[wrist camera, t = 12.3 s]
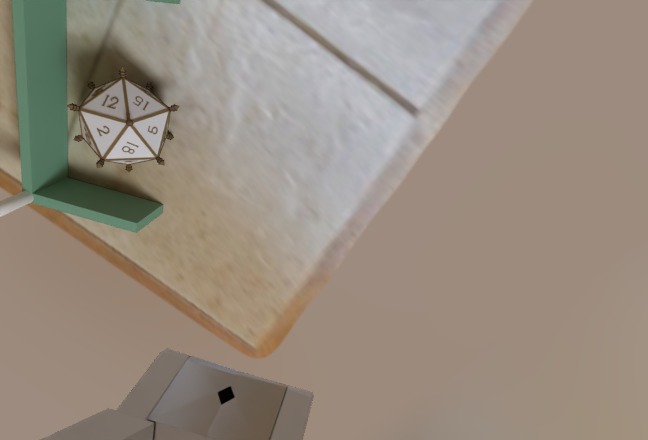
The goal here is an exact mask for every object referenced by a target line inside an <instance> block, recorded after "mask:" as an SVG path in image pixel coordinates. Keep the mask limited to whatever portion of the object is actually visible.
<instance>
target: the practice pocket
mask: <svg viewBox="0 0 648 440" xmlns="http://www.w3.org/2000/svg"><path fill="white" fill-rule="evenodd" d="M147 1H154V2H163V3H173V4H180V0H147ZM12 14H13V32H14V50H15V68H16V85H17V103H18V121H19V139H20V156H21V174H22V192H21V193H18V194H16V195H14V196H11V197H9V198H7V199H4V200H2V201H0V217H1V216H3V215H5V214H7V213H10V212H12V211H14V210H16V209H18V208H20V207H22V206H25V205H27V204H29V203H34V204H38V205H41V206H45V207H48V208H52V209H55V210H59V211H62V212H66V213H69V214H73V215H76V216H80V217H83V218H86V219H90V220H93V221H97V222H100V223H104V224H107V225H111V226H114V227H118V228H121V229H125V230H128V231H132V232H135V233H137V232H138V231H139V230H141V229H142V228H143V227H145V226H146V225H147V224H149V223H150V222H151V221H153V220H154V219H155V218H157V217H158V216H159V215H161V214H162V212H163V204H160V203H156V202H153V201H149V200H146V199H142V198H139V197H135V196H132V195H128V194H124V193H121V192H117V191H114V190H110V189H107V188H103V187H100V186H96V185H93V184H89V183H85V182H82V181H78V180H75V179H71V178H68V126H67V39H66V0H12Z"/></svg>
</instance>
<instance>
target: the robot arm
mask: <svg viewBox="0 0 648 440" xmlns="http://www.w3.org/2000/svg"><path fill="white" fill-rule="evenodd" d="M313 397H314V395H313V392H310V391H306V390H302V389H299V388H296V387H292V386H288V385H285V384H282V383H278V382H275V381H271V380H268V379H264V378H261V377H257V376H254V375H251V374H248V373H244V372H239V371H236V370H233V369H230V368H227V367H224V366H221V365H218V364H215V363H212V362H209V361H206V360H203V359H200V358H197V357H194V356H189V355H186V354H183V353H180V352H177V351H174V350H171V349H168V348H167V349H165V350H164V351H162V352H161V353H160V354H159V355H158V356H157V358H156V359H155V360H154V362H153V363H152V364H151V366H150V367H149V369H148V370H147V371H146V372H145V374H144V375H143V376H142V378H141V379H140V380H139V381H138V383H137V384H136V385H135V387H134V388H133V389H132V390H131V392H130V393H129V395H128V396H127V397H126V399H125V400H124V401H123V402H122V404H121V405H120V406H119V408H118V409H117V410H113V409H109V408H108V409H106V410H104V411H102V412H99V413H97V414H95V415H93V416H91V417H88V418H86V419H84V420H82V421H80V422H78V423H76V424H73V425H72V426H69V427H67V428H65V429H63V430H60V431H58V432H56V433H54V434H52V435H50V436H47V437H45V438H43V439H41V440H303V436H304V433H305V429H306V425H307V421H308V417H309V413H310V409H311V405H312V401H313Z"/></svg>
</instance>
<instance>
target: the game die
mask: <svg viewBox="0 0 648 440" xmlns="http://www.w3.org/2000/svg"><path fill="white" fill-rule="evenodd" d="M119 72H120V73H119V74H120V76H121V77H120V78H118V79H115V80H113V81H110V82H108V83H105V84H103V85H100V86H98V87H95V84H93V82H89V81H88V87H90V89H93V90H92V91H91V93H90V94H89V95H88V96H87V98H86V99H85V100H84V101H83V103H82V104H81V105H80V106H79V107H78V106H77V105H76V104H75V105H74V104H73V103H72V104H70V105H67V106H68V107H69V108H70V110H74V111H78V113H79V120H80V127H81V133H82V135H78V136H75V138H74V140H75V141H78V142H79V141H82V139H84V140H85V141H86V142H87V143H88V145H89V146H90V147H91V148H92V149H93V150H94V152H95V153H96V154H97V155H98V156H99V158H100V160H99V161H98V162H97V163H96V164H97V168H100V167H103V165H104V161H107V162H113V163H120V164H126V170H127V171H128V172H130V171H131V170H132V166H131V164H136V163H140V162H145V161H150V160H154V159H156V160H157V163H159V165H164V160H163V159H162V158H160V157H159V156H160V153H161V150H162V148H163V145H164V142H165V140H166V138H167V139H170V140H171V139H173V138H174V137H173V136H172V134H167V132H168V125H169V119H170V112H171V111H177V109H178V108H179V107H180V106H177V105H175V104H174V105H173V106H172V105H171V107H168V106H167V105H166V104H164V103H163V102H162V101H161V100H160V99H159V98H157V97H156V96H155V95H154V94H153V93H151V92H150V91H149V90H151V88H153V87H152V83H150V84H147V86H146V88H144V87H142V86H141V85H139V84H137V83H135V82H133V81H131V80H129V79H127V78H126V77H125V75H126V70H125V69H124V68H123V66H122V68H121V69H120V70H119ZM164 166H165V165H164Z"/></svg>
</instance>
